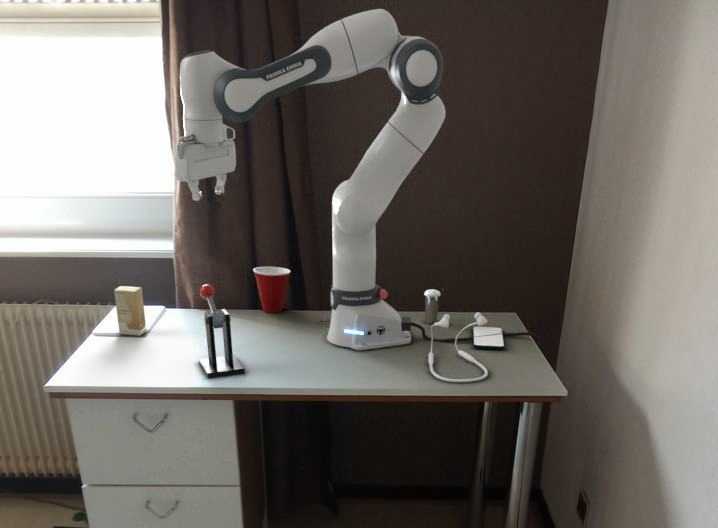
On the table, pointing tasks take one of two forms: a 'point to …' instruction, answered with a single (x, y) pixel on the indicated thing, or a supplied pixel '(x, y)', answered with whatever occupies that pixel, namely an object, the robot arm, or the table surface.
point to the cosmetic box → (130, 310)
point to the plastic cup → (272, 287)
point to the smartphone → (488, 338)
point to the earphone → (445, 323)
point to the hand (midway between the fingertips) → (208, 197)
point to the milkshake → (431, 305)
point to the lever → (212, 305)
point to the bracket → (229, 361)
